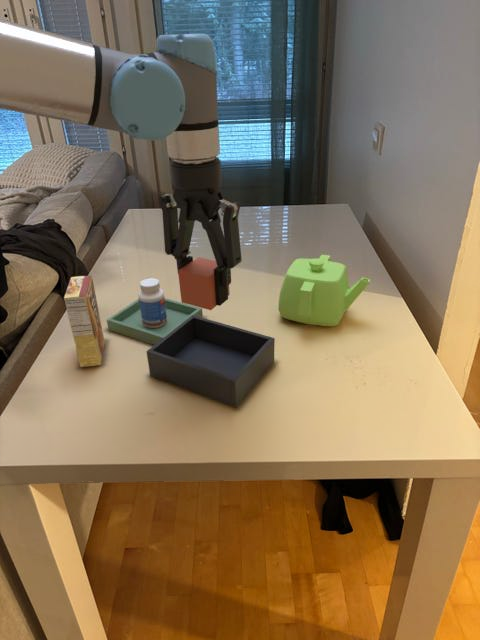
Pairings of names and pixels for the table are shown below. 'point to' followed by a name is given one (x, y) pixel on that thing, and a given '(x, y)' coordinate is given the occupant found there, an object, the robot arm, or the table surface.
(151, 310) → the pill bottle
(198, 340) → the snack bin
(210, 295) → the block
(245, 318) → the table surface
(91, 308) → the candy box
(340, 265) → the teapot
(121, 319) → the medicine tray
